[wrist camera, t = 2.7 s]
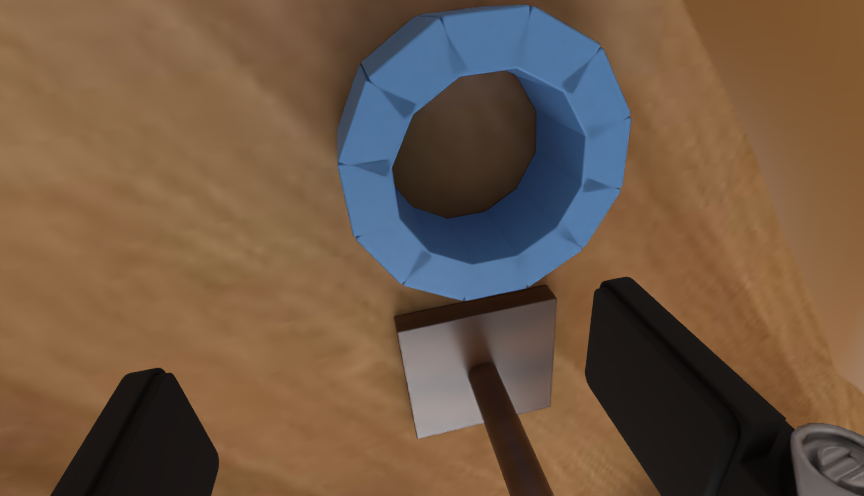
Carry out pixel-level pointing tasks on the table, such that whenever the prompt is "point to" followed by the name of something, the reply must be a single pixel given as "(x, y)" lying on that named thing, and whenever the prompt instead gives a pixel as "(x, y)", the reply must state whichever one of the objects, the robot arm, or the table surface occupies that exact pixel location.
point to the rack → (484, 374)
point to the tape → (542, 181)
